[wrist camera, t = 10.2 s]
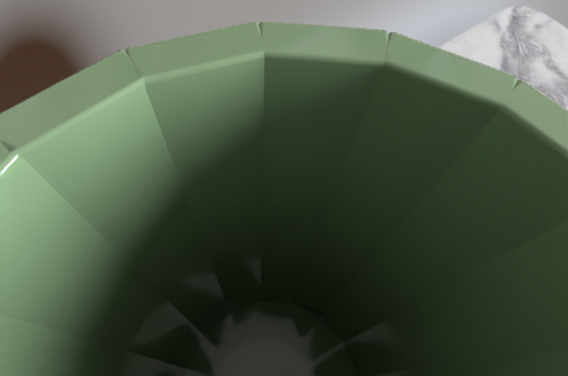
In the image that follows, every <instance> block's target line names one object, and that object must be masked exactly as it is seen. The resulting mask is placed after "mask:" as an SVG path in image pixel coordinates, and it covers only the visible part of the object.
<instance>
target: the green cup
mask: <svg viewBox="0 0 568 376" xmlns="http://www.w3.org/2000/svg"><path fill="white" fill-rule="evenodd" d="M0 376H568V110H566V109H565V108H564V107H562V106H561V105H559V104H558V103H556V102H555V101H553V100H552V99H550V98H549V97H548V96H546V95H545V94H543V93H542V92H540V91H539V90H537V89H536V88H535V87H533V86H532V85H530V84H529V83H527V82H526V81H524V80H518V81H517V77H516V76H514V75H512V74H509V73H507V72H504V71H501V70H498V69H496V68H493V67H490V66H487V65H485V64H482V63H479V62H476V61H473V60H471V59H468V58H465V57H462V56H460V55H457V54H454V53H451V52H448V51H446V50H443V49H440V48H437V47H434V46H431V45H429V44H426V43H423V42H421V41H418V40H415V39H412V38H409V37H407V36H404V35H401V34H399V33H396V32H391V33H390V34H389V33H388V32H387V31H385V30H379V29H365V28H352V27H339V26H326V25H312V24H299V23H286V22H285V23H284V22H272V21H262V22H260V23H259V24H258V23H257V22H248V23H243V24H239V25H234V26H229V27H224V28H219V29H215V30H210V31H205V32H200V33H195V34H191V35H186V36H182V37H176V38H172V39H167V40H162V41H158V42H152V43H147V44H143V45H138V46H133V47H129V48H127V49H126V52H125V51H123V50H118V51H117V52H115V53H113V54H111V55H109V56H107V57H106V58H103V59H102V60H100V61H98V62H96V63H94V64H92V65H90V66H88V67H86V68H85V69H83V70H81V71H79V72H77V73H75V74H73V75H71V76H70V77H68V78H66V79H64V80H62V81H60V82H58V83H57V84H55V85H53V86H51V87H49V88H47V89H45V90H44V91H41V92H39V93H38V94H36V95H34V96H32V97H30V98H28V99H26V100H24V101H23V102H21V103H19V104H17V105H16V106H13V107H11V108H10V109H8V110H6V111H4V112H2V113H0Z"/></svg>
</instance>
